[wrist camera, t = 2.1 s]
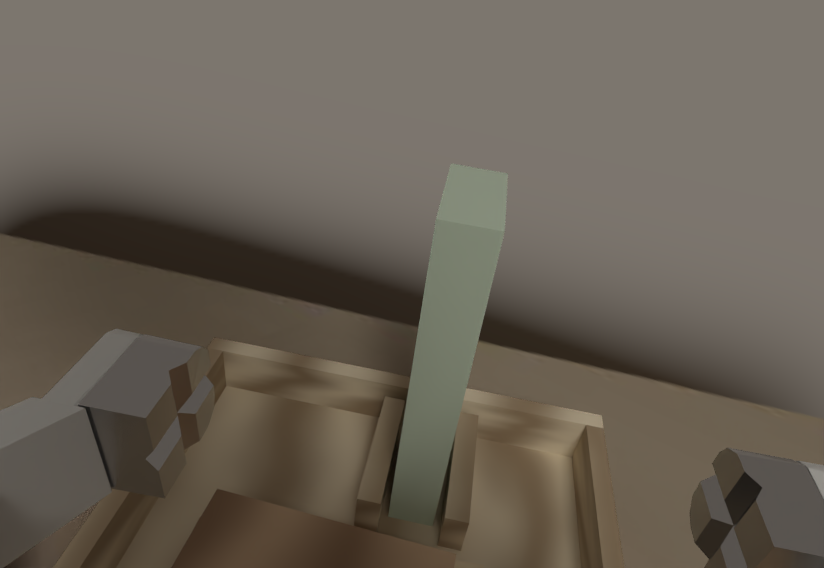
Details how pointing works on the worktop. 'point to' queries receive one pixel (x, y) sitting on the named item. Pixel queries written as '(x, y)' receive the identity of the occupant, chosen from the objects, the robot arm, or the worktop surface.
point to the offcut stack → (295, 541)
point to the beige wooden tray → (373, 469)
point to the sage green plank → (448, 334)
